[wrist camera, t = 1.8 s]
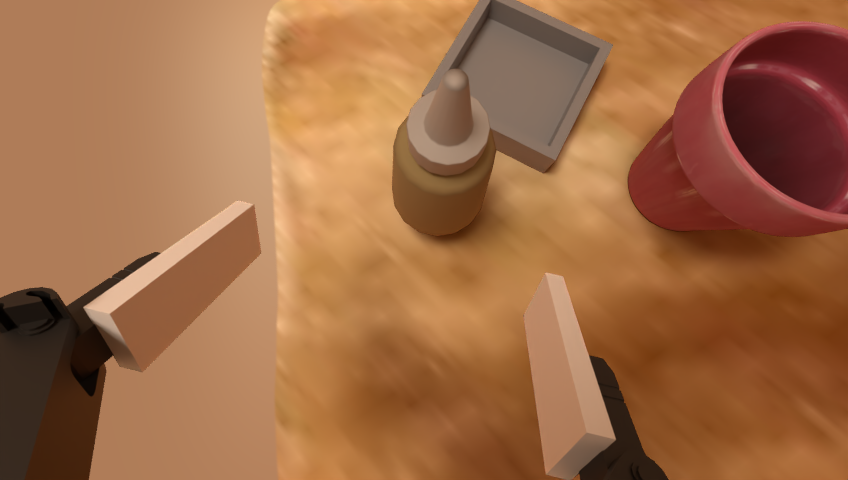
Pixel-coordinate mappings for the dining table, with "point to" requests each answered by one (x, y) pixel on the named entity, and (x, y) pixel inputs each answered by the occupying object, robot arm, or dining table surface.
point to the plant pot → (756, 139)
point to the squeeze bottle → (443, 158)
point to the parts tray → (525, 76)
